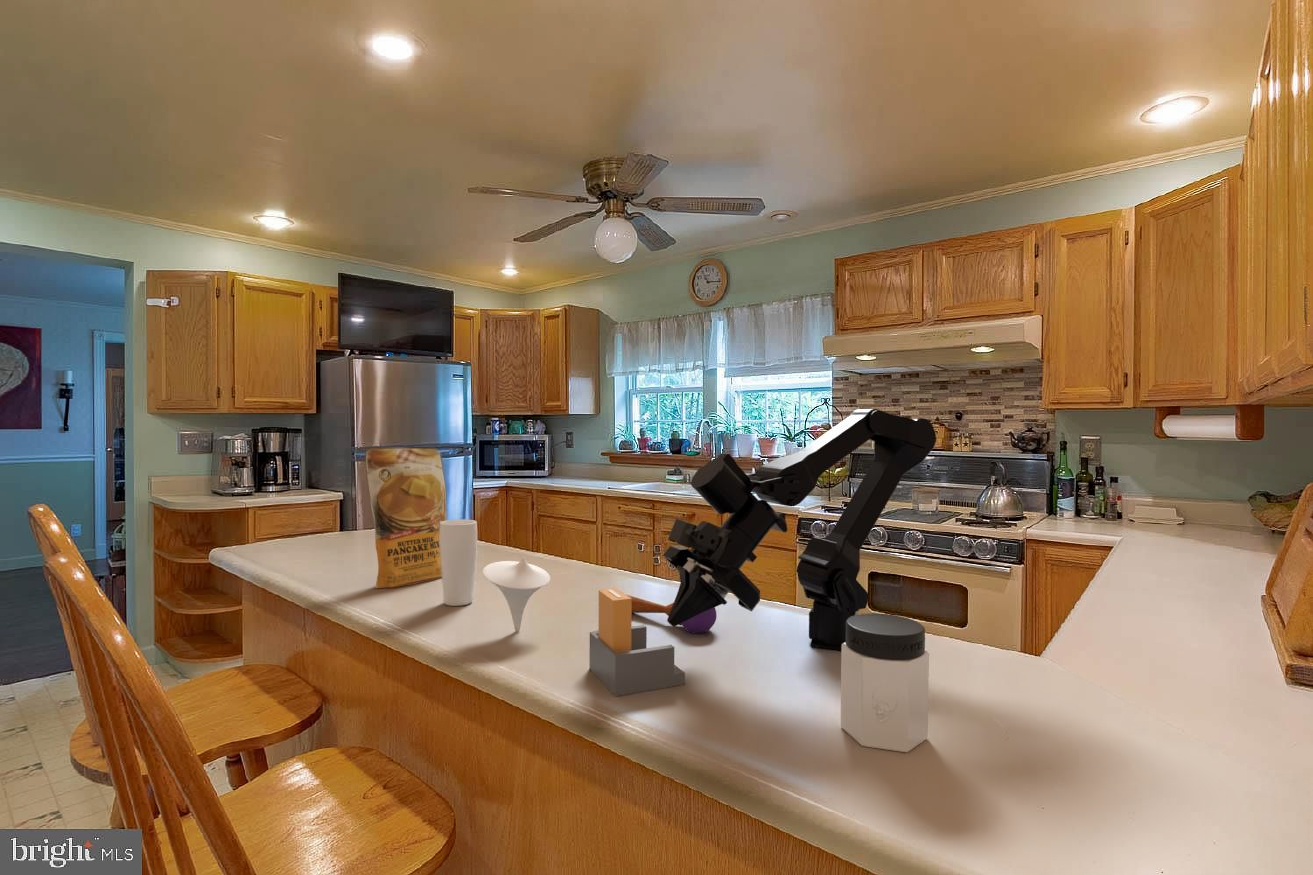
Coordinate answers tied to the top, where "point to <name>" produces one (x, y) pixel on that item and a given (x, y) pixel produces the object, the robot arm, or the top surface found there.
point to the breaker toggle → (615, 619)
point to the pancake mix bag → (406, 513)
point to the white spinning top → (516, 583)
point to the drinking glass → (458, 560)
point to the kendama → (693, 625)
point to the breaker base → (634, 665)
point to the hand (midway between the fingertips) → (670, 623)
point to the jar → (885, 682)
